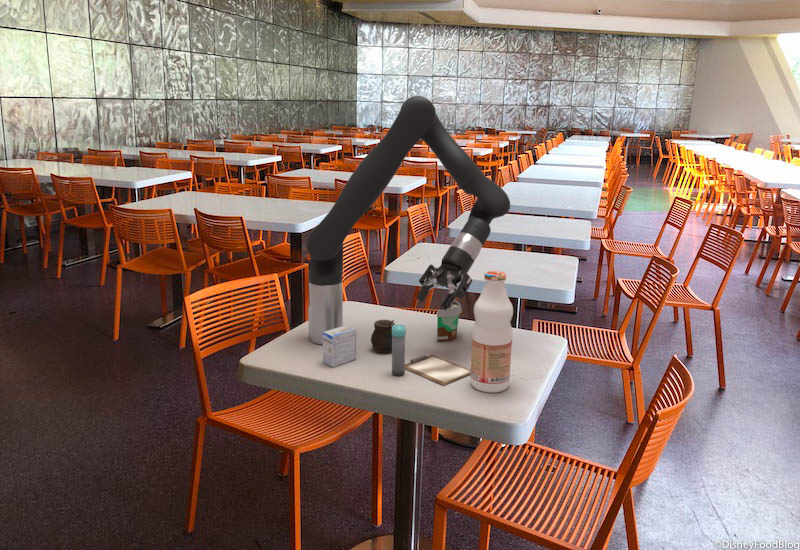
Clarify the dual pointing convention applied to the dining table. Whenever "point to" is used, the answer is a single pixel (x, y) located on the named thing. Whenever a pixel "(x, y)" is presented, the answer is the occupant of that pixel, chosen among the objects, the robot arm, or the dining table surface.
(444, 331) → the food container
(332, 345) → the medicine box
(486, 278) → the fruit juice
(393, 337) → the ball
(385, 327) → the mate gourd
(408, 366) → the clipboard
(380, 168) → the robot arm
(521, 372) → the dining table surface
